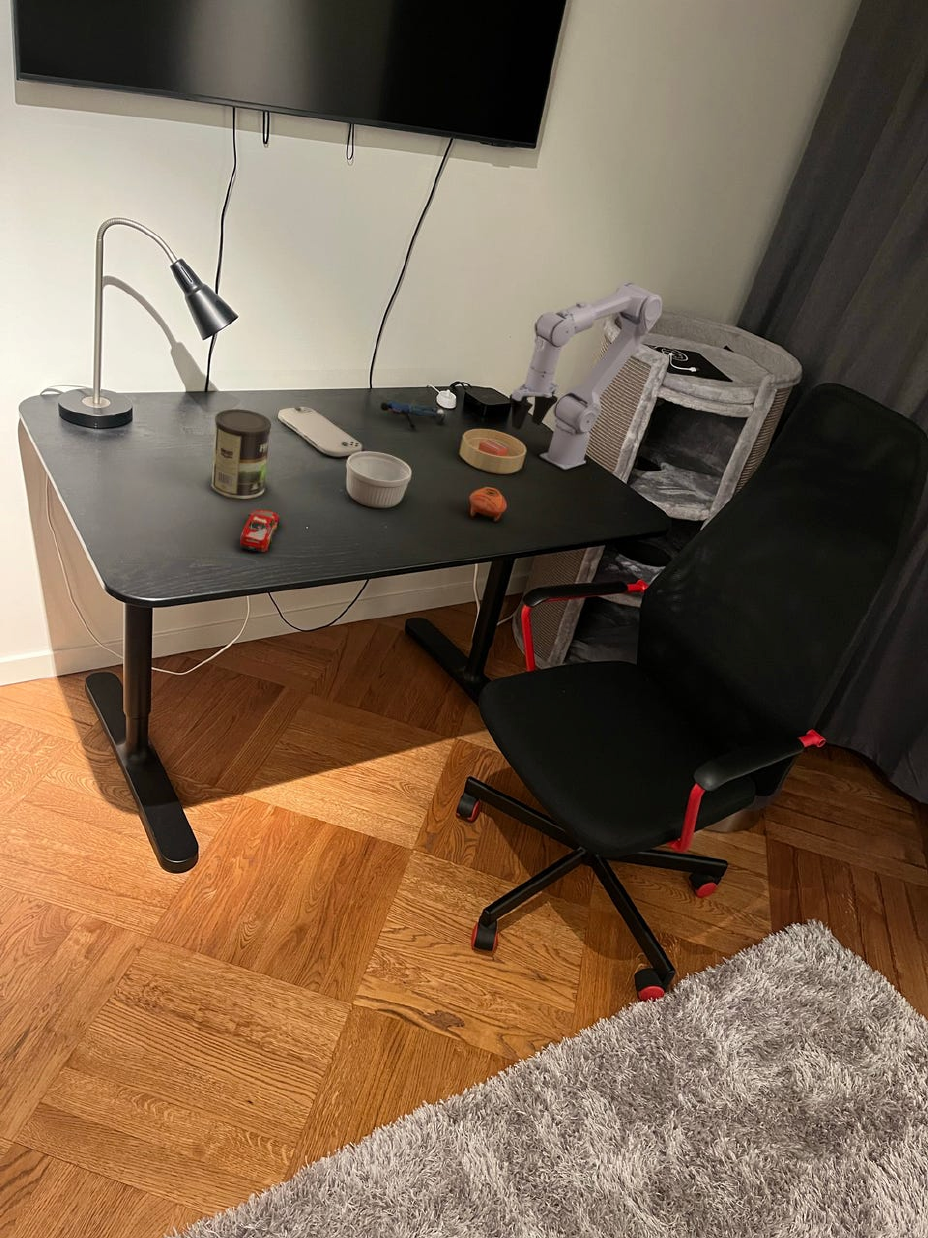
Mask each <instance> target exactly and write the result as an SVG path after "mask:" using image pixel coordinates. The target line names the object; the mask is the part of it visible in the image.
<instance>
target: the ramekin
mask: <svg viewBox="0 0 928 1238" xmlns="http://www.w3.org/2000/svg"><path fill="white" fill-rule="evenodd" d="M345 467H346V491H347V493H348V494H349V496H350V497H351V499H352V500H354V502H356V503H359V504H360V505H363V506H367V507H370V508H376V509H389V508H392V507H395V506H397V505H398V504H399V503H400V502H401V501H402V500H403V498H404V495H405V493H406V490H407V487H408V484H409V482H410V481H411V479H412V469H411V467H410V466H409V465H408V464H407V463H406V461H404V460H402V459H400V458H399V457H396V456H394V455H391V454H388V453H384V452H380V451H379V452H378V451H369V450H368V451H364V450H363V452H358V453H354V454H352V455H351V456H349V457H347V460H346V465H345Z"/></svg>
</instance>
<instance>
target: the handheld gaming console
mask: <svg viewBox="0 0 928 1238" xmlns="http://www.w3.org/2000/svg"><path fill="white" fill-rule="evenodd" d="M277 418H278V419H279V420H280V422H281V423H282V424H283V425H285V426H286V427H287V428H288V429H290V431H293V432H294V433H295V434H296V435H298V436H299V437H300V438H302V439H303V440H304V441H305V442H307V443H308V444H309V445H311V446H312V447H313V448H315V449H316V450H317V451H318V452H320V453H321V454H323V455H325V456H326V457H329V458H333V459H343V458H349V457H350V456H351V455H352V454H354V453H358V452H364V445H363V443H362V442H360V441H358V440H356V439H354V438H353V437H352V436H351V435H349V433H346V432H345V431H344V430H342V429H341V428H340V427H338V426H337V425H335V424H334V423H332V422H331V421H330V420H328V419H327V418H326V417H324V416H323V415H321V414H320V413H319V412H318V411H317V410H316V409H314V408H311V407H307V406H296V407H289V408H288V407H287V408H283V409H281V410H279V412H278V416H277Z"/></svg>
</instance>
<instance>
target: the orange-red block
mask: <svg viewBox="0 0 928 1238" xmlns="http://www.w3.org/2000/svg"><path fill="white" fill-rule="evenodd" d="M478 450H480V451H483V452H485V453H488V454H492V455H497V456H504V457H506V456H507V452H508V449H507V448H505V447H504V446H502V445H500V444H498V443H497V442H495V441H493V440H491V439H490V440H487V441H483V442H480V444H479V448H478Z"/></svg>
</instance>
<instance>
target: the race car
mask: <svg viewBox="0 0 928 1238" xmlns="http://www.w3.org/2000/svg"><path fill="white" fill-rule="evenodd" d="M247 517H248V519H247V522H246V524H245V525H244V528H243V529H242V531H241V534H240V538H239V539H240V540H239V547H240V548H242V549H245V550H249V551H254V552H258V553H259V552H267V551H268V550H269V549H270V547H271V544H272V542H273V539H274V537H275V534H276V532H277V529H278V527H279V524H280V516H279V515H278V513H276V512H274V511H271V510H269V509H268V510H267V509H255V510H253V511H251V513H250V514H247Z"/></svg>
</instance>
